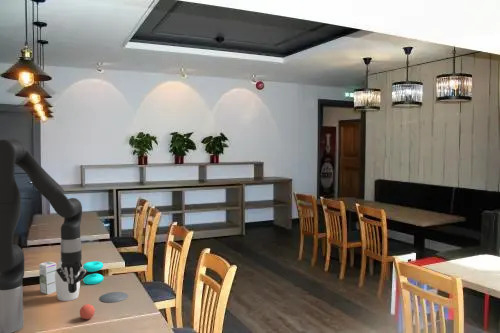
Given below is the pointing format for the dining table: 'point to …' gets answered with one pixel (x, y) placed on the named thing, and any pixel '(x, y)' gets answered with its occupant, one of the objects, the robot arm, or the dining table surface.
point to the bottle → (64, 287)
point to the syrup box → (47, 277)
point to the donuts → (91, 268)
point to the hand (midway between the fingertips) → (72, 292)
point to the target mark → (113, 297)
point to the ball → (87, 311)
